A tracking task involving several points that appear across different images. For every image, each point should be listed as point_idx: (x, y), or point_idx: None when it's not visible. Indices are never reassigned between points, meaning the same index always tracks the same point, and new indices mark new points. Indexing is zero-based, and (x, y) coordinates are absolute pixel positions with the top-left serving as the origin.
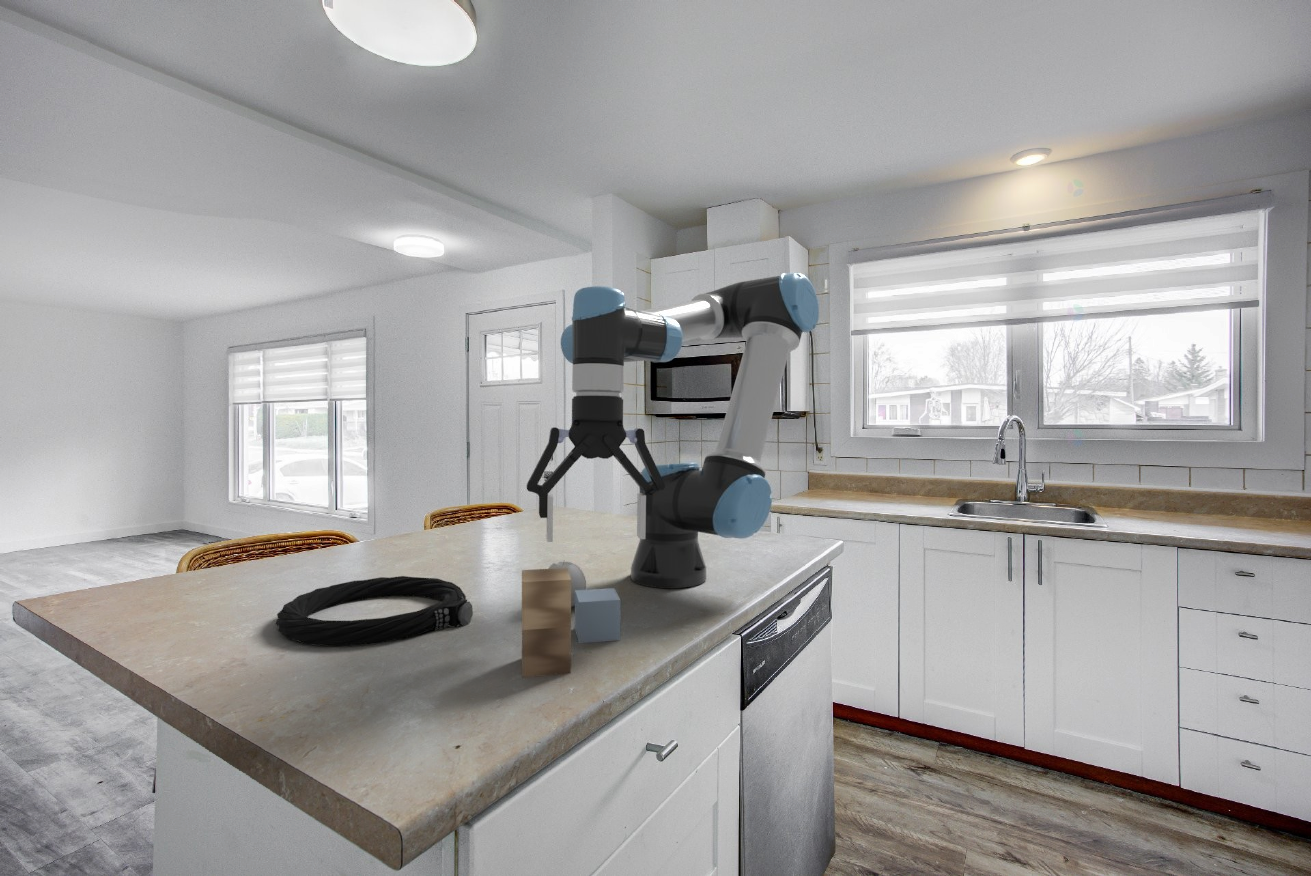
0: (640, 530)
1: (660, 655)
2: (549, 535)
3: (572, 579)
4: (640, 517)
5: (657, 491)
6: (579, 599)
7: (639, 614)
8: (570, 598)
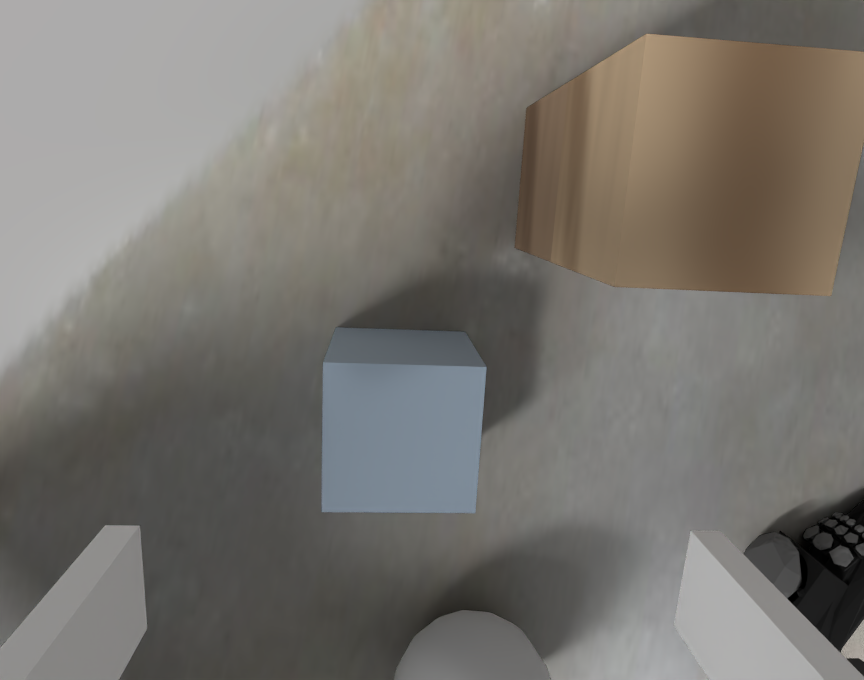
0: (114, 562)
1: (233, 168)
2: (730, 552)
3: (454, 670)
4: (64, 637)
5: None
6: (478, 400)
7: (230, 532)
8: (610, 58)
